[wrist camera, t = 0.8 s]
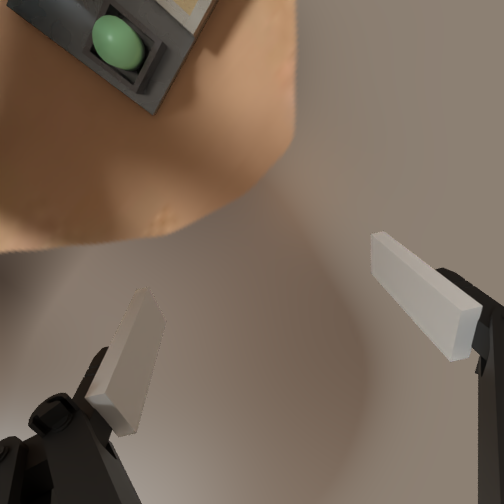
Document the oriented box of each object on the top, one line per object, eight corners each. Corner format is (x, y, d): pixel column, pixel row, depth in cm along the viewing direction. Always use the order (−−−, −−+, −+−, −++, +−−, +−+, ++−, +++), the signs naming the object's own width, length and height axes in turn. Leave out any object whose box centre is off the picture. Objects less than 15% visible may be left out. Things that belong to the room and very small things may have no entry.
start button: (99, 52, 26) (85, 45, 23) (116, 15, 25) (102, 3, 22) (134, 79, 27) (124, 76, 25) (151, 45, 26) (143, 37, 24)
